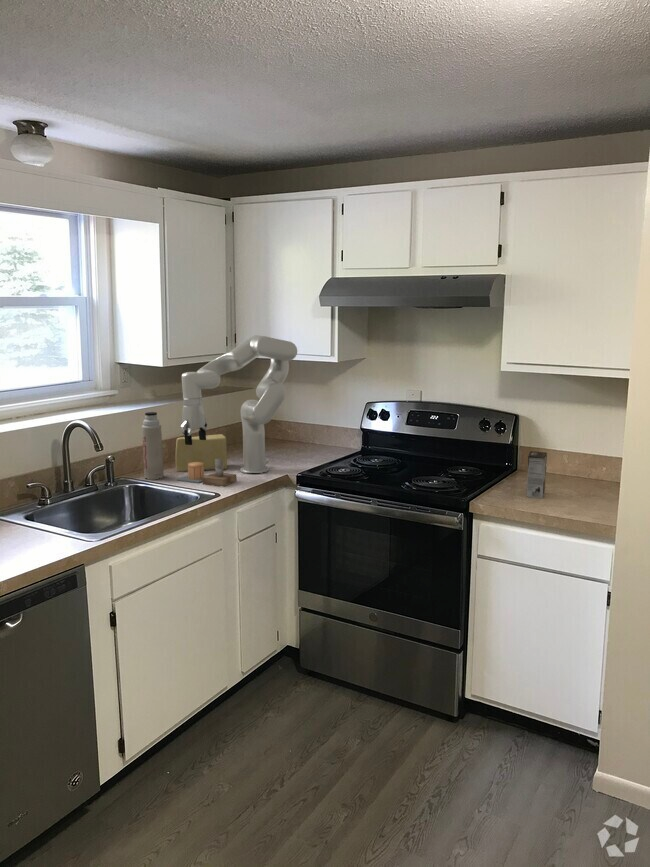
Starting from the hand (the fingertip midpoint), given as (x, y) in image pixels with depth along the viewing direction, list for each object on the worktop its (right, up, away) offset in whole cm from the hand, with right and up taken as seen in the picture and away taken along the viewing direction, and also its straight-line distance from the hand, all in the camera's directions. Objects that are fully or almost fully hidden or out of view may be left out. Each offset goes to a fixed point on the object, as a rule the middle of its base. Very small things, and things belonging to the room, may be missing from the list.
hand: (195, 442), depth 302 cm
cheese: (-1, -13, +20) cm, 24 cm away
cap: (0, -15, +3) cm, 15 cm away
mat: (-1, -16, +2) cm, 16 cm away
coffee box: (+135, -20, -25) cm, 139 cm away
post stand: (+11, -17, -4) cm, 20 cm away
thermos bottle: (-19, -15, +6) cm, 25 cm away
